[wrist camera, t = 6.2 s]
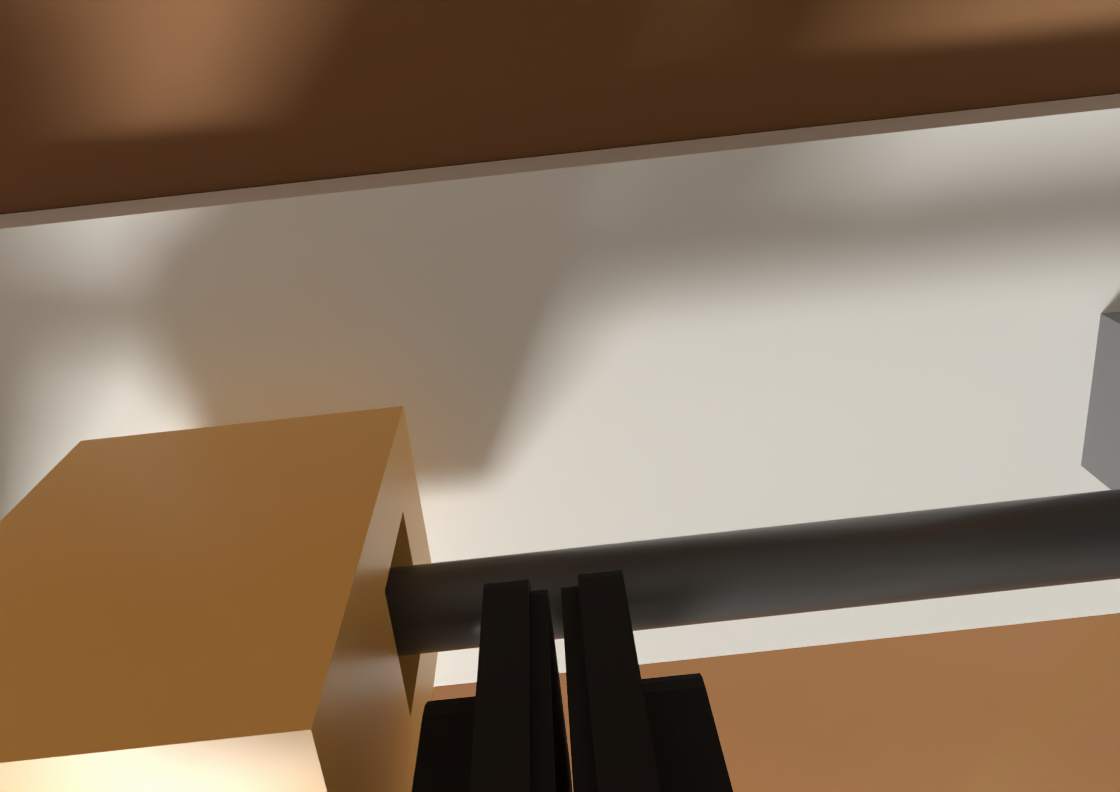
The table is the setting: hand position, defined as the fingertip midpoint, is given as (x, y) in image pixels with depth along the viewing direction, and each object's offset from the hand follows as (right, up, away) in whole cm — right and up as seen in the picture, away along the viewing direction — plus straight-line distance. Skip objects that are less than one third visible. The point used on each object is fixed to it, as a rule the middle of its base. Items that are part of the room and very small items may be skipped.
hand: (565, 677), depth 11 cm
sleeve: (-5, +1, +4) cm, 6 cm away
